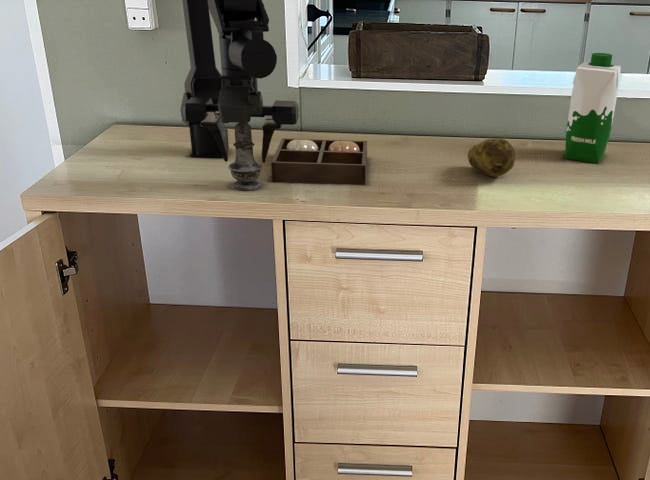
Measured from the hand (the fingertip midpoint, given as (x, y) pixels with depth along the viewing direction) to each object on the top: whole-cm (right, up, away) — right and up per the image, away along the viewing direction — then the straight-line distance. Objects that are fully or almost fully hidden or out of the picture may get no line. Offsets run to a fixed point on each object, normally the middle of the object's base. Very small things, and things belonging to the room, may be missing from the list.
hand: (245, 161), depth 132 cm
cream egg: (+8, +4, +16) cm, 18 cm away
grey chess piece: (0, -4, +2) cm, 5 cm away
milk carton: (+66, +8, +27) cm, 72 cm away
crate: (+12, +2, +13) cm, 18 cm away
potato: (+44, 0, +12) cm, 46 cm away
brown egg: (+16, +4, +16) cm, 23 cm away
